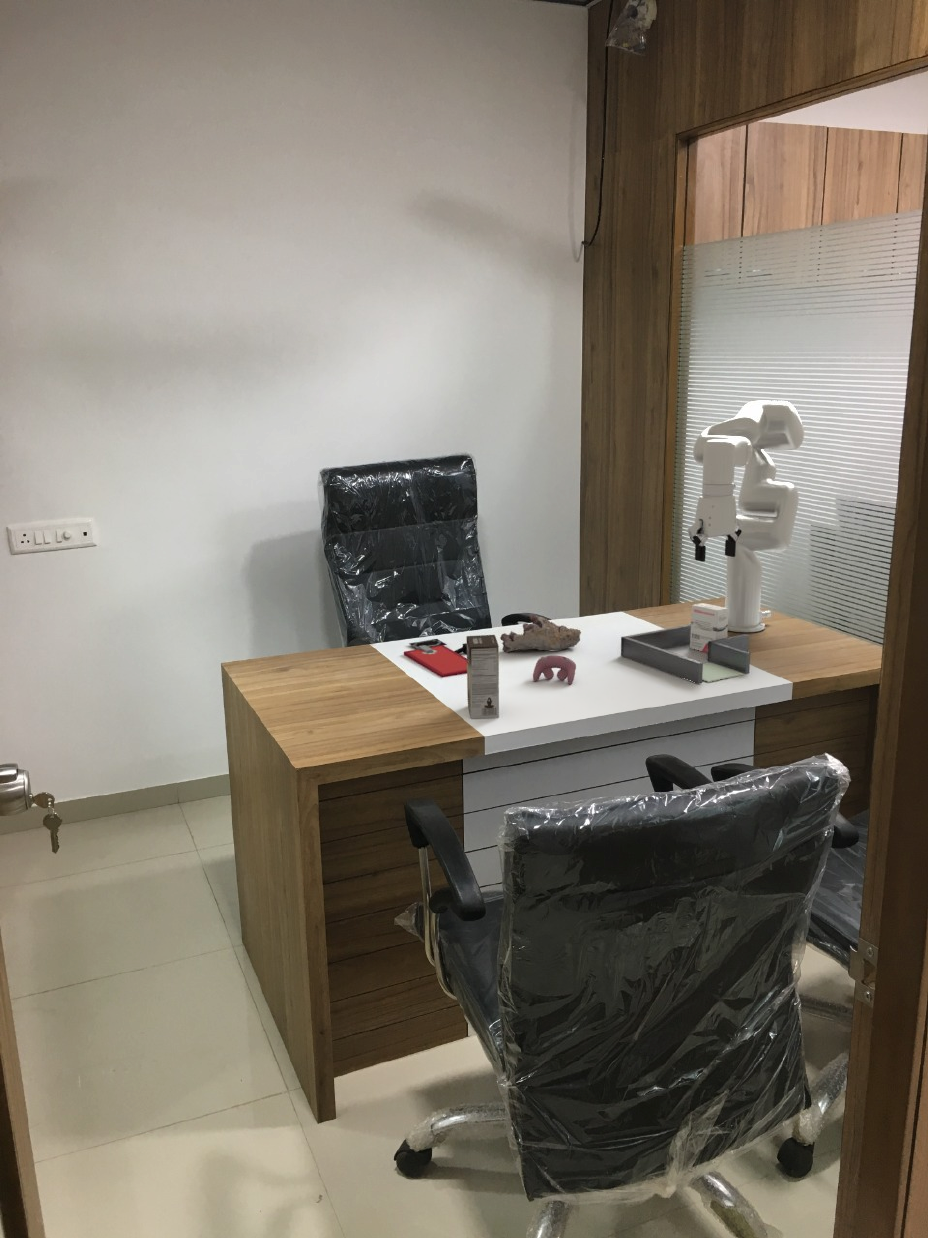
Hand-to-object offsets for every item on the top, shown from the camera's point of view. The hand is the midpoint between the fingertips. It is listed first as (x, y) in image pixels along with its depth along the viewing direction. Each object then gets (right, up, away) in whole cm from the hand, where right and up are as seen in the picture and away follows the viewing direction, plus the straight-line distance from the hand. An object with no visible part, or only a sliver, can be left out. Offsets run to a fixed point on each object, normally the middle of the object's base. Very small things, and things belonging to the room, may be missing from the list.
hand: (715, 558), depth 253 cm
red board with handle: (-69, -26, +6) cm, 73 cm away
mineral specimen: (-43, -24, +11) cm, 50 cm away
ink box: (0, -23, +9) cm, 25 cm away
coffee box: (-59, -35, -35) cm, 77 cm away
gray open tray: (-4, -26, 0) cm, 26 cm away
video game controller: (-42, -30, -14) cm, 53 cm away
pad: (-4, -28, -11) cm, 30 cm away
